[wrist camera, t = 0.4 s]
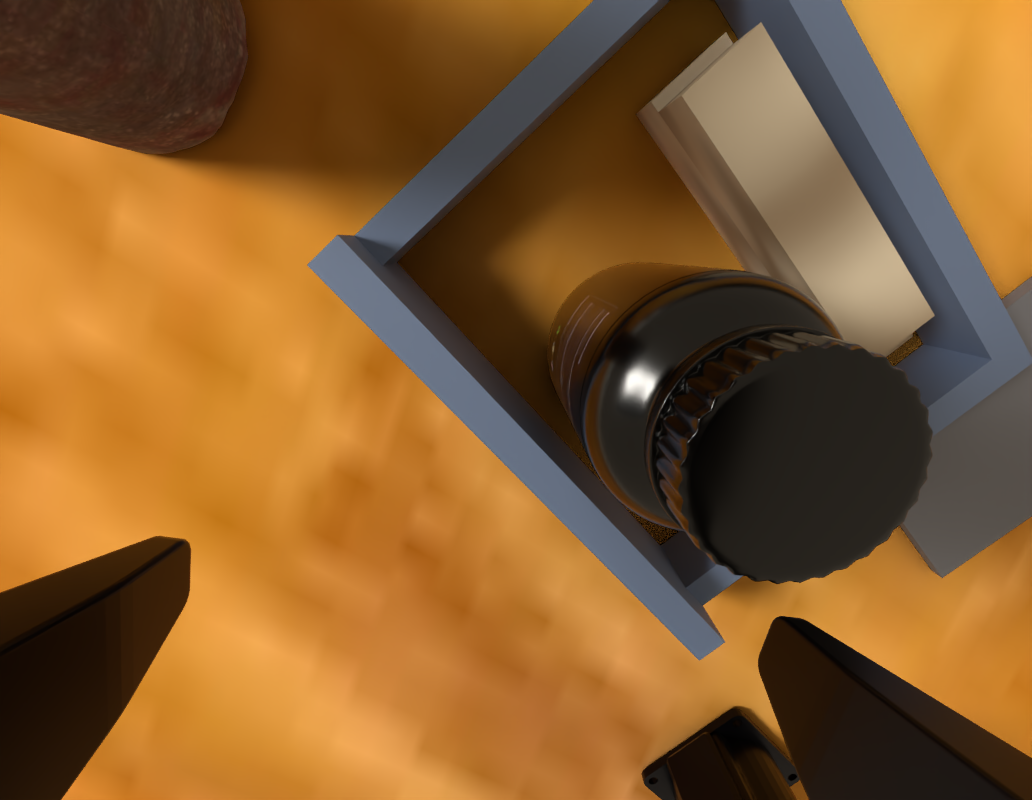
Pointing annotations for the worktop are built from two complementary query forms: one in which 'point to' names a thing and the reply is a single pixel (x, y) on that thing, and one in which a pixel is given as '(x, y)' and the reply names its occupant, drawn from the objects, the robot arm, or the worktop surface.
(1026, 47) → the worktop surface
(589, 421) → the supplement bottle
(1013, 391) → the mat
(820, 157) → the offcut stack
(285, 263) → the worktop surface
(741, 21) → the blue-grey rectangular tray
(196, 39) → the candle
